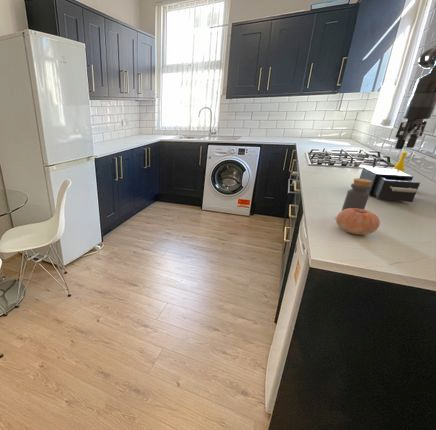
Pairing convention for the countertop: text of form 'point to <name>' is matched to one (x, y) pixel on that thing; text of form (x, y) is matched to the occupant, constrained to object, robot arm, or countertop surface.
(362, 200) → the bottle
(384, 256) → the countertop surface
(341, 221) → the orange pumpkin
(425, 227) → the countertop surface
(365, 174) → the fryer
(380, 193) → the drawer
